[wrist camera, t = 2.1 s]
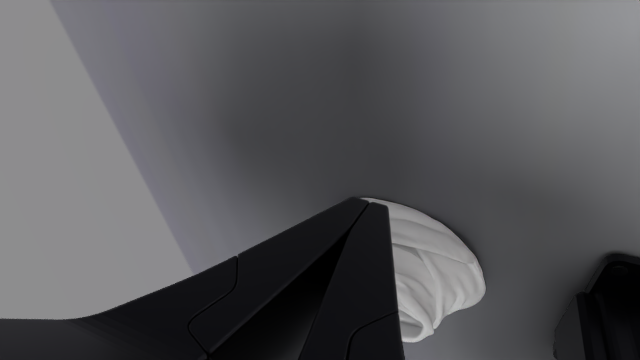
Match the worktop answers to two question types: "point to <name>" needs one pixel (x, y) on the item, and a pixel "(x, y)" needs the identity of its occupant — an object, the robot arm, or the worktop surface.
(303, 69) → the worktop surface
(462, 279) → the whipped cream
